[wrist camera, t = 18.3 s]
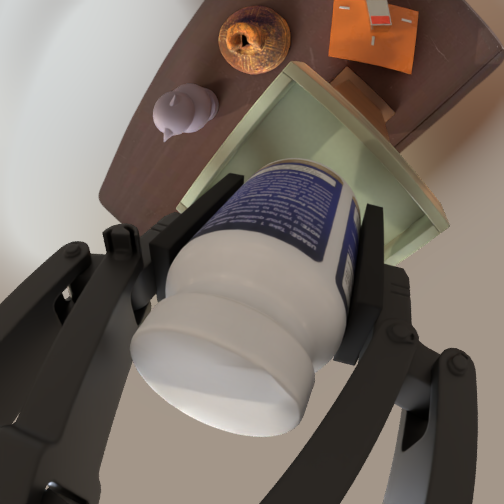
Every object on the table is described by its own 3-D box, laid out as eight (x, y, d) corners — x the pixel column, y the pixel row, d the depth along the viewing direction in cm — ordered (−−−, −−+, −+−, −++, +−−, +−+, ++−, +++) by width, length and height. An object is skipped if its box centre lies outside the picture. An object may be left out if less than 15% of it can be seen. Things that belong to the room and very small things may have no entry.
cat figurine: (188, 76, 49) (147, 83, 40) (228, 88, 49) (192, 96, 39) (178, 118, 55) (138, 135, 45) (215, 132, 54) (179, 151, 45)
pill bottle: (222, 204, 16) (89, 347, 8) (301, 128, 13) (171, 255, 5) (299, 281, 17) (227, 452, 9) (386, 225, 14) (374, 432, 6)
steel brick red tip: (363, -5, 31) (361, -20, 25) (380, -6, 30) (382, -20, 24) (370, 32, 34) (371, 25, 28) (388, 32, 33) (392, 25, 27)
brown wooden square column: (347, 66, 40) (291, 60, 11) (395, 112, 42) (450, 226, 13) (305, 109, 47) (175, 208, 17) (351, 153, 48) (305, 323, 19)
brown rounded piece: (297, 10, 38) (285, 2, 32) (285, 79, 45) (272, 82, 39) (226, 4, 40) (205, -3, 34) (217, 69, 47) (196, 71, 42)
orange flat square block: (417, -3, 30) (420, -7, 28) (408, 73, 38) (411, 74, 35) (337, -19, 33) (335, -24, 30) (330, 56, 40) (328, 55, 38)
